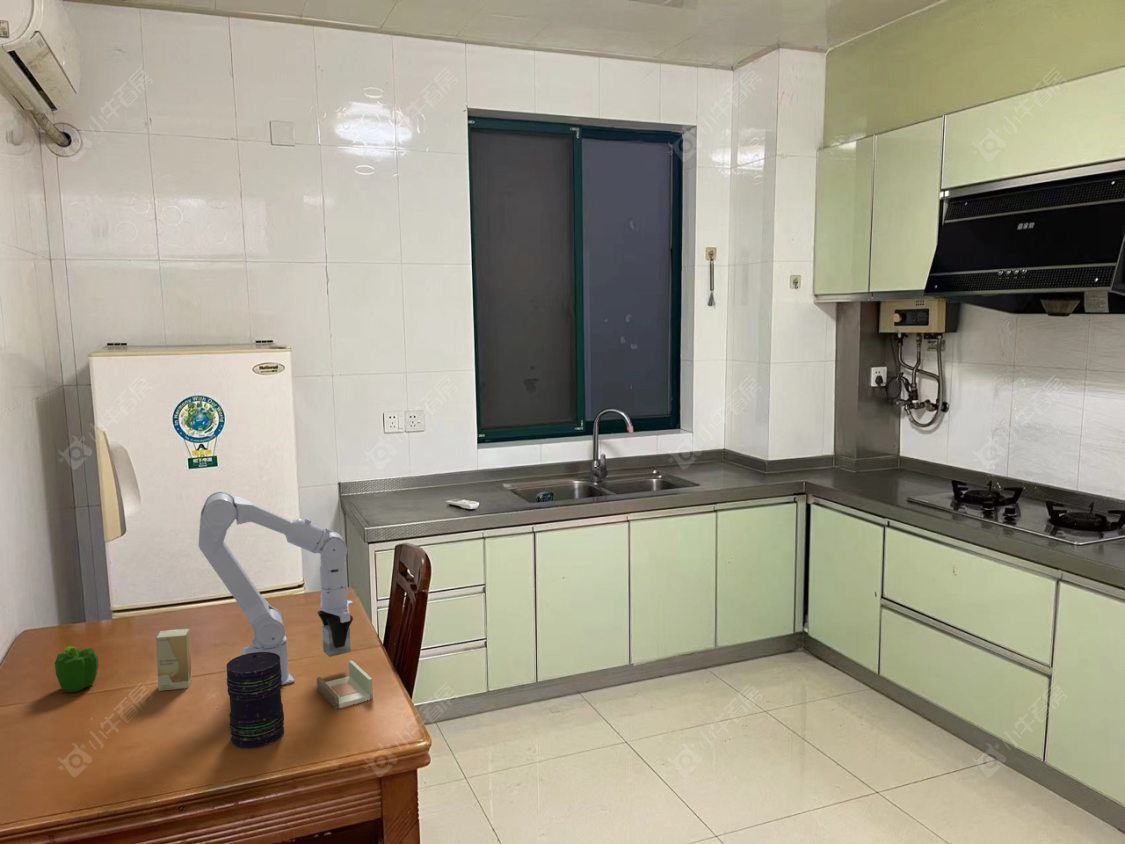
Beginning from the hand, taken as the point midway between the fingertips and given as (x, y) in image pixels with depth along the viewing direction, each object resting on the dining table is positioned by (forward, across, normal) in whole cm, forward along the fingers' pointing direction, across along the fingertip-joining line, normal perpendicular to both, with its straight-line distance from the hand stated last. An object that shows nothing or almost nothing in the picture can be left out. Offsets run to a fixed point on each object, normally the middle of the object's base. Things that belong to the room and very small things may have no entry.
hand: (336, 643), depth 187 cm
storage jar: (+7, -21, +23) cm, 32 cm away
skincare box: (+7, +13, +32) cm, 35 cm away
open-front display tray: (+6, -13, +3) cm, 15 cm away
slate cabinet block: (+2, 0, 0) cm, 2 cm away
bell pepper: (+7, +25, +50) cm, 56 cm away
